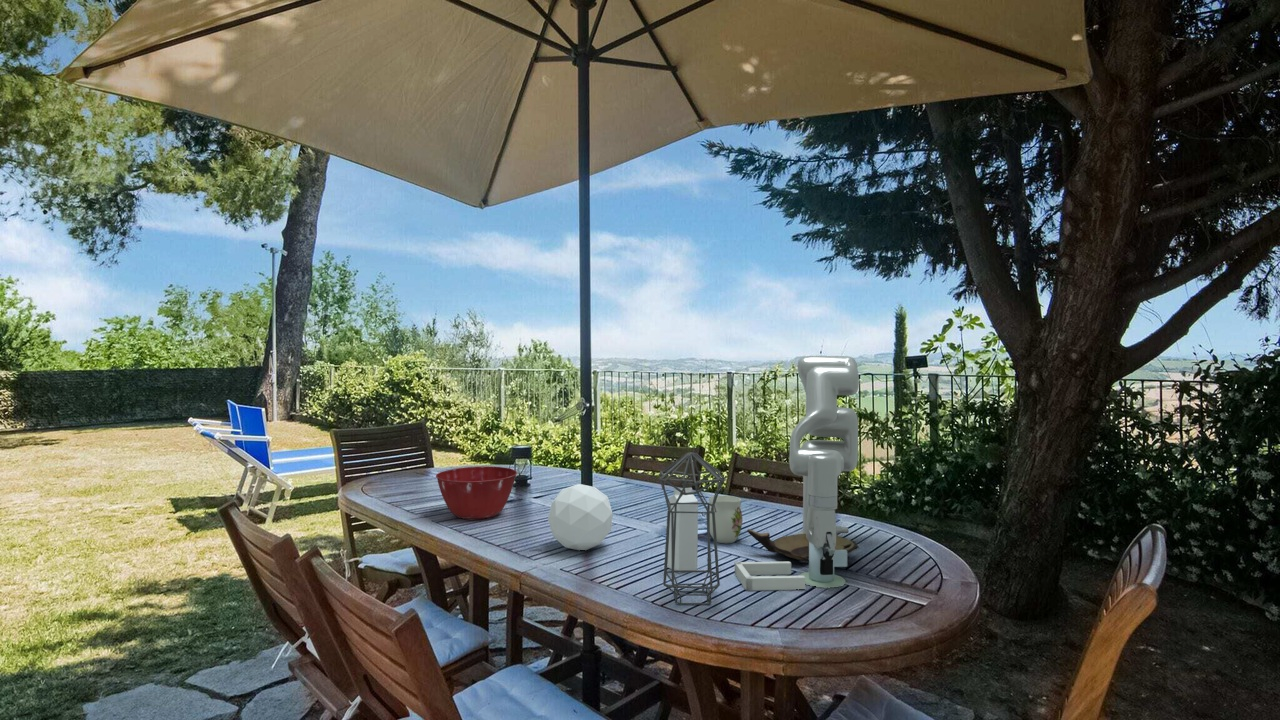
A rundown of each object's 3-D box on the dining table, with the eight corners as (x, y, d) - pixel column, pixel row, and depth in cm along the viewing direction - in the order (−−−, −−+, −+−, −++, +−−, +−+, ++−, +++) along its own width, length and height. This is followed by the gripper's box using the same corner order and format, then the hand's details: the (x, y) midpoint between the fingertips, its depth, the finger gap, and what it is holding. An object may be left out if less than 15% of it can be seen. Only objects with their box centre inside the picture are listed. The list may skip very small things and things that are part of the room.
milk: (697, 570, 178) (699, 489, 178) (678, 573, 175) (680, 491, 175) (685, 564, 183) (686, 485, 183) (666, 567, 180) (668, 487, 180)
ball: (586, 565, 203) (614, 507, 212) (601, 559, 185) (631, 497, 194) (532, 535, 202) (562, 478, 211) (542, 527, 184) (575, 466, 193)
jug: (813, 582, 168) (813, 546, 168) (805, 573, 174) (805, 539, 174) (850, 581, 168) (851, 546, 168) (841, 573, 175) (841, 539, 175)
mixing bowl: (474, 529, 217) (474, 483, 217) (418, 517, 233) (418, 474, 233) (532, 513, 241) (533, 471, 241) (478, 503, 257) (478, 463, 256)
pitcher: (752, 535, 213) (753, 493, 213) (730, 549, 198) (730, 503, 198) (721, 530, 219) (722, 489, 219) (697, 543, 204) (698, 499, 204)
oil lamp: (848, 577, 174) (848, 548, 174) (741, 559, 189) (741, 532, 189) (864, 555, 193) (865, 529, 193) (766, 540, 208) (766, 516, 208)
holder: (789, 572, 177) (789, 561, 177) (805, 589, 164) (805, 577, 164) (734, 573, 176) (734, 562, 176) (746, 590, 163) (746, 578, 163)
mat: (835, 572, 177) (835, 571, 177) (852, 588, 165) (852, 586, 165) (791, 573, 177) (791, 572, 177) (806, 588, 165) (806, 587, 165)
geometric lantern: (659, 609, 150) (658, 456, 151) (660, 587, 166) (659, 448, 166) (728, 610, 149) (727, 456, 150) (722, 588, 165) (722, 448, 166)
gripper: (797, 494, 179) (796, 559, 179) (819, 509, 162) (819, 581, 162) (824, 494, 180) (823, 559, 180) (849, 509, 163) (848, 581, 163)
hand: (821, 569), depth 171 cm, fingers closed on jug, 6 cm apart
